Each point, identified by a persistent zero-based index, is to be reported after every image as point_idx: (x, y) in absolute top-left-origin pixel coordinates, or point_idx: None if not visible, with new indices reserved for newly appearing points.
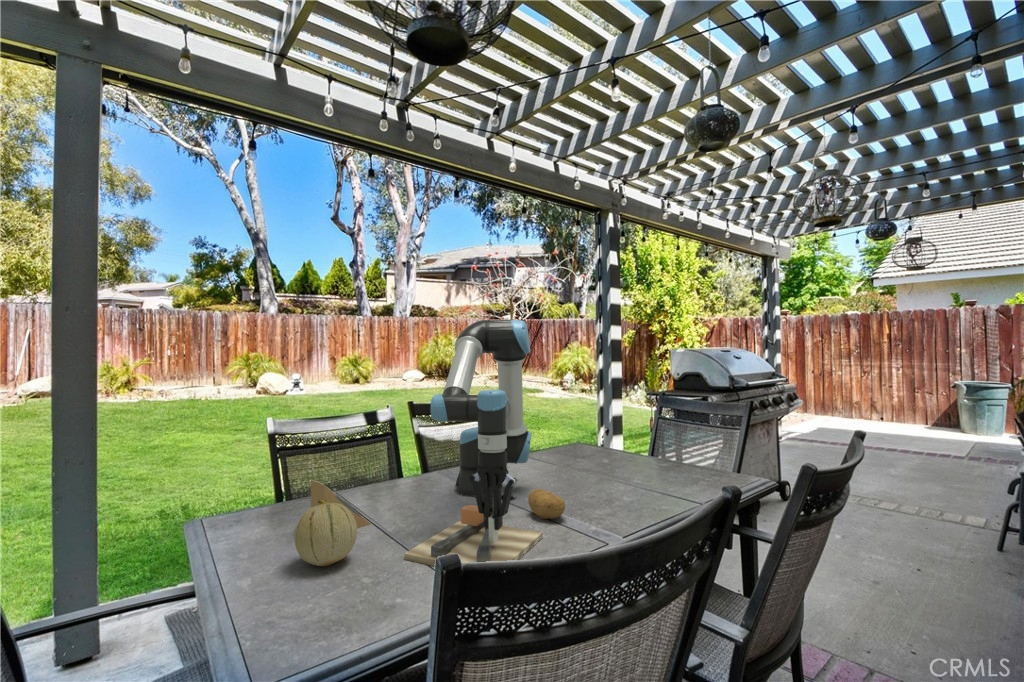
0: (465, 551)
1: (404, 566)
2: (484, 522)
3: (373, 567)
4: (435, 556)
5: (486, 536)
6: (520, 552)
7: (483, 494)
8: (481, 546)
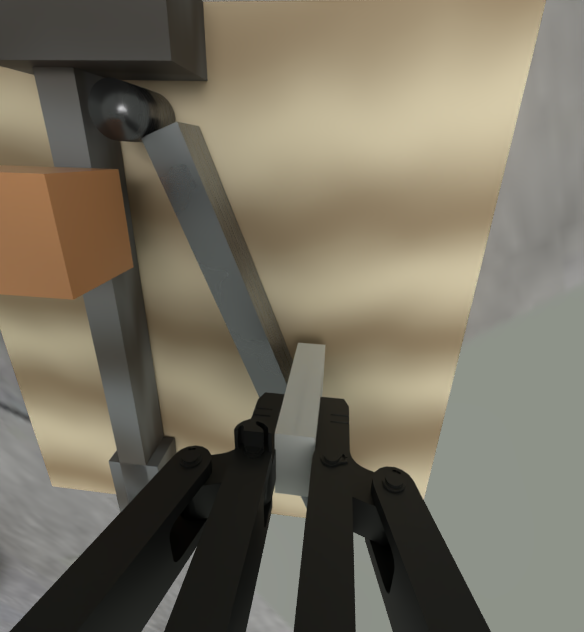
0: (223, 421)
1: (105, 502)
2: None
3: (42, 523)
4: None
5: (267, 376)
6: (457, 359)
7: (113, 592)
8: None
